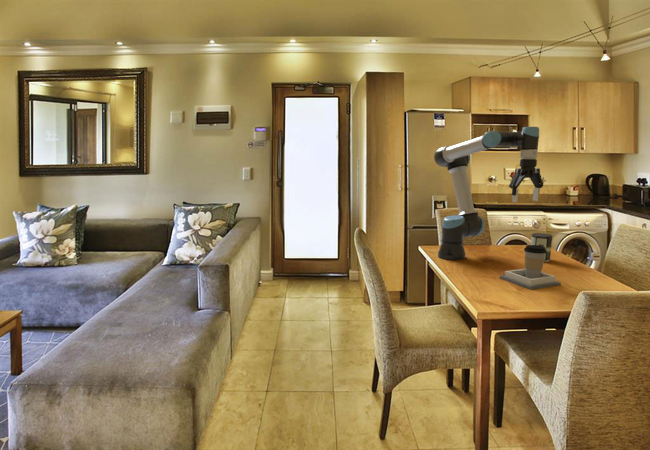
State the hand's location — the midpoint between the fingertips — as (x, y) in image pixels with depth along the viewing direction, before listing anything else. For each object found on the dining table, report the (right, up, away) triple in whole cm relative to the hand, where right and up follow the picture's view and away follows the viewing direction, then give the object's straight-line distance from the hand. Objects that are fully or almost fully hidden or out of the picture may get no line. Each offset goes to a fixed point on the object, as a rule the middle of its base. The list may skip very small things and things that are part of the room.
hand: (525, 201), depth 206 cm
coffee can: (+19, -31, +23) cm, 43 cm away
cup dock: (-6, -38, -16) cm, 42 cm away
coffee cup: (-4, -37, -15) cm, 40 cm away
